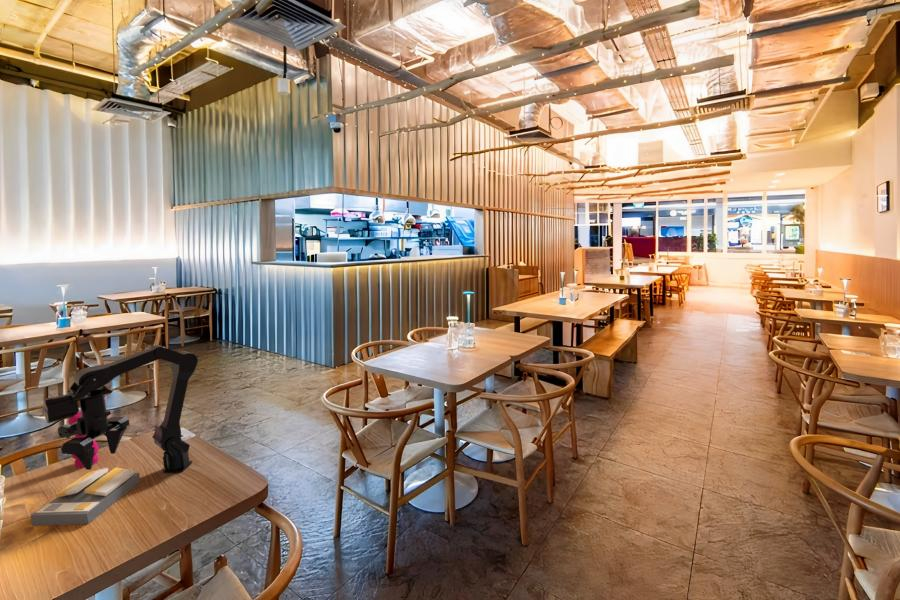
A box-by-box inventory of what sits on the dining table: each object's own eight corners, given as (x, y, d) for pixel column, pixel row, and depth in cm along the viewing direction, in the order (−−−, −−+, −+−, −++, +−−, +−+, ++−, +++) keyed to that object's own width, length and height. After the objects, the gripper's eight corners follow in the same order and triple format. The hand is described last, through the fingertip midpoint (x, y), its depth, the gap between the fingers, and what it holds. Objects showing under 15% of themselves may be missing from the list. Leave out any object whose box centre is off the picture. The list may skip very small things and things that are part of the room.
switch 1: (108, 470, 136) (107, 467, 136) (76, 492, 124) (75, 489, 124) (90, 474, 136) (89, 471, 136) (56, 497, 124) (55, 494, 124)
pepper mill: (84, 469, 146) (76, 412, 143) (67, 467, 148) (58, 411, 145) (105, 458, 153) (97, 404, 150) (89, 457, 155) (81, 403, 152)
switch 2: (135, 473, 136) (135, 470, 136) (105, 496, 125) (106, 492, 124) (115, 470, 136) (115, 467, 136) (84, 492, 124) (84, 489, 124)
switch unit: (140, 481, 138) (138, 470, 137) (88, 523, 118) (86, 511, 117) (92, 483, 138) (90, 472, 137) (32, 525, 117) (29, 513, 117)
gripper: (91, 400, 136) (98, 446, 138) (36, 425, 118) (45, 479, 120) (127, 399, 136) (133, 445, 139) (78, 424, 118) (86, 478, 120)
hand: (101, 461), depth 129 cm, fingers open, 9 cm apart
